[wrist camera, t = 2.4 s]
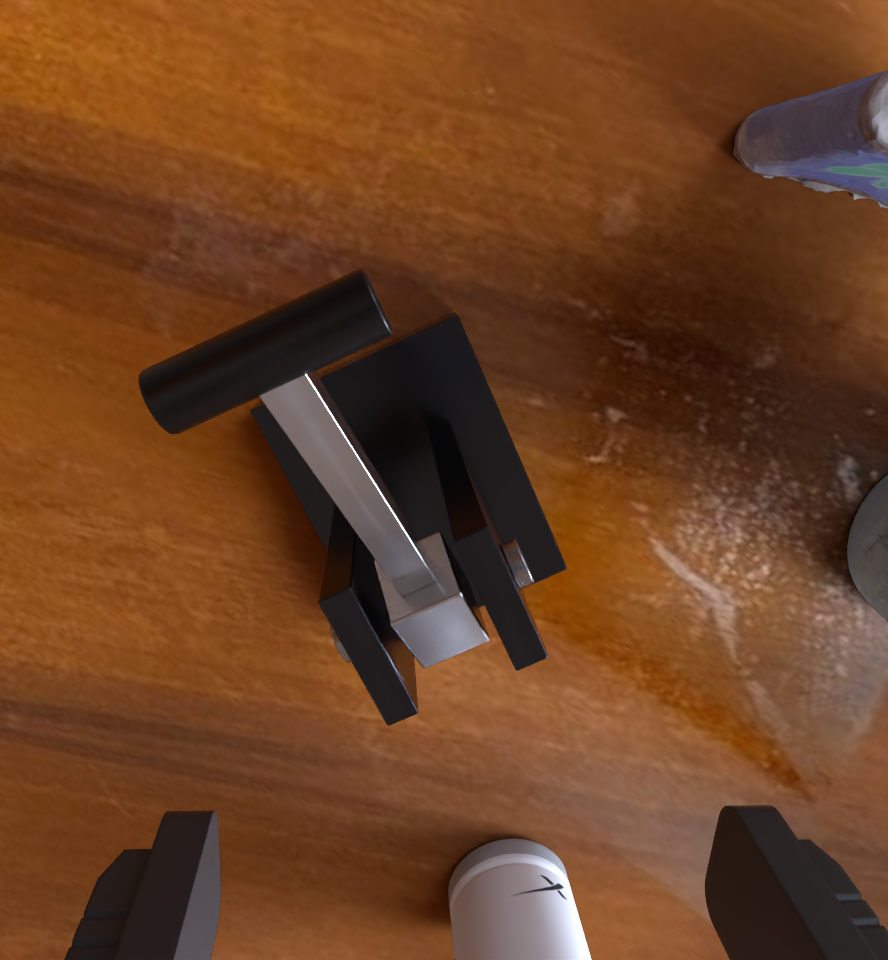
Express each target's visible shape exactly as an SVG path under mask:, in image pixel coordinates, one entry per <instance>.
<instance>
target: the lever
mask: <svg viewBox="0 0 888 960" xmlns="http://www.w3.org/2000/svg"><path fill="white" fill-rule="evenodd" d="M392 334H393V328H392V325H391V323H390V320H389V318H388V316H387V313H386V311H385V309H384V307H383V304H382V302H381V300H380V298H379V296H378V293H377V291H376V289H375V287H374V285H373V283H372V281H371V279H370V277H369V275H368V273H367V272H366V271H365V270H364V269H358V270H356V271H354V272H351V273H349V274H347V275H345V276H343V277H341V278H339V279H337V280H334V281H332V282H330V283H328V284H326V285H324V286H322V287H319V288H317V289H315V290H313V291H311V292H309V293H307V294H305V295H302V296H300V297H298V298H296V299H294V300H292V301H290V302H288V303H285V304H283V305H281V306H279V307H277V308H275V309H273V310H270V311H268V312H266V313H264V314H262V315H260V316H258V317H256V318H253V319H251V320H249V321H247V322H245V323H243V324H241V325H239V326H236V327H234V328H232V329H230V330H228V331H226V332H224V333H221V334H219V335H217V336H215V337H213V338H211V339H209V340H207V341H204V342H202V343H200V344H198V345H196V346H194V347H192V348H190V349H187V350H185V351H183V352H181V353H179V354H177V355H175V356H172V357H170V358H168V359H166V360H164V361H162V362H160V363H158V364H155V365H153V366H151V367H149V368H147V369H145V370H143V371H142V372H141V373H140V375H139V387H140V391H141V394H142V397H143V399H144V401H145V404H146V406H147V408H148V409H149V411H150V413H151V414H152V416H153V417H154V419H155V420H156V421H157V422H158V424H159V425H160V426H161V427H162V428H163V429H164V430H166V431H167V432H168V433H170V434H179V433H182V432H184V431H186V430H188V429H190V428H192V427H194V426H197V425H199V424H201V423H203V422H205V421H207V420H210V419H212V418H214V417H216V416H218V415H220V414H223V413H225V412H227V411H229V410H231V409H233V408H236V407H238V406H240V405H242V404H244V403H246V402H249V401H251V400H253V399H255V398H257V397H260V398H261V400H262V401H263V403H264V404H265V405H266V407H267V408H268V410H269V411H270V412H271V414H272V415H273V417H274V418H275V419H276V421H277V422H278V424H279V425H280V426H281V428H282V429H283V431H284V432H285V433H286V435H287V436H288V438H289V439H290V440H291V442H292V443H293V445H294V446H295V448H296V449H297V450H298V452H299V453H300V455H301V456H302V457H303V459H304V460H305V462H306V463H307V464H308V466H309V467H310V469H311V470H312V471H313V473H314V474H315V476H316V477H317V478H318V480H319V481H320V483H321V484H322V485H323V487H324V488H325V490H326V491H327V493H328V494H329V495H330V497H331V498H332V500H333V501H334V502H335V504H336V505H337V507H338V508H339V509H340V511H341V512H342V514H343V515H344V516H345V518H346V519H347V521H348V522H349V523H350V525H351V526H352V528H353V529H354V530H355V532H356V533H357V535H358V536H359V537H360V539H361V540H362V542H363V543H364V545H365V546H366V547H367V549H368V550H369V552H370V553H371V554H372V556H373V557H374V559H375V560H374V567H375V571H376V575H377V579H378V583H379V586H380V590H381V594H382V598H383V602H384V605H385V609H386V613H387V617H388V621H389V624H390V626H391V627H392V628H393V630H394V631H395V632H396V634H397V635H398V636H399V637H400V639H401V640H402V641H403V643H404V644H405V645H406V647H407V648H408V649H409V650H410V652H411V653H412V654H413V656H414V657H415V658H416V659H417V661H418V662H419V663H420V665H421V666H422V667H423V668H428V667H430V666H433V665H435V664H437V663H439V662H442V661H444V660H446V659H449V658H451V657H453V656H456V655H458V654H460V653H462V652H465V651H467V650H469V649H472V648H474V647H476V646H479V645H481V644H483V643H486V642H488V641H489V635H488V632H487V629H486V627H485V624H484V621H483V619H482V616H481V613H480V610H479V608H478V605H477V602H476V600H475V597H474V594H473V591H472V589H471V586H470V583H469V581H468V579H467V577H466V575H465V574H464V572H463V570H462V568H461V567H460V565H459V563H458V561H457V560H456V558H455V556H454V554H453V553H452V551H451V549H450V547H449V546H448V544H447V542H446V540H445V539H444V537H443V535H442V533H440V532H437V533H434V534H432V535H430V536H428V537H426V538H423V539H421V540H419V539H418V537H417V536H416V534H415V533H414V531H413V529H412V528H411V526H410V524H409V523H408V521H407V520H406V518H405V516H404V515H403V513H402V511H401V510H400V508H399V507H398V505H397V503H396V502H395V500H394V498H393V497H392V495H391V494H390V492H389V490H388V489H387V487H386V485H385V484H384V482H383V481H382V479H381V477H380V476H379V474H378V472H377V471H376V469H375V468H374V466H373V464H372V463H371V461H370V459H369V458H368V456H367V455H366V453H365V451H364V450H363V448H362V446H361V445H360V443H359V442H358V440H357V438H356V437H355V435H354V433H353V432H352V430H351V429H350V427H349V425H348V424H347V422H346V420H345V419H344V417H343V416H342V414H341V412H340V411H339V409H338V407H337V406H336V404H335V403H334V401H333V399H332V398H331V396H330V394H329V393H328V391H327V390H326V388H325V386H324V385H323V383H322V381H321V380H320V378H319V377H318V375H317V373H316V372H315V370H318V369H320V368H322V367H324V366H326V365H328V364H331V363H333V362H335V361H337V360H339V359H341V358H344V357H346V356H348V355H350V354H352V353H354V352H357V351H359V350H361V349H363V348H365V347H367V346H370V345H372V344H374V343H376V342H378V341H380V340H382V339H385V338H387V337H389V336H391V335H392Z"/></svg>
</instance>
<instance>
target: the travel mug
mask: <svg viewBox="0 0 888 960" xmlns="http://www.w3.org/2000/svg"><path fill="white" fill-rule="evenodd" d="M448 896H449V906H450V916H451V925H452V935H453V945H454V954H455V960H591V956H590V953H589V950H588V946H587V943H586V939H585V936H584V932H583V929H582V926H581V922H580V919H579V915H578V912H577V908H576V905H575V902H574V898H573V895H572V891H571V888H570V884H569V881H568V878H567V874H566V871H565V867H564V866H563V864H562V862H561V860H560V859H559V858H558V857H557V856H556V855H555V854H554V853H553V852H552V851H551V850H549V849H548V848H546V847H545V846H543V845H541V844H538V843H536V842H533V841H529V840H524V839H503V840H497V841H494V842H490V843H487V844H485V845H483V846H481V847H478V848H477V849H475V850H474V851H472V852H471V853H469V854H468V855H467V856H466V857H465V858H464V859H463V860H462V861H461V862H460V863H459V864H458V866H457V867H456V869H455V870H454V872H453V874H452V876H451V879H450V881H449V888H448Z"/></svg>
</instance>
